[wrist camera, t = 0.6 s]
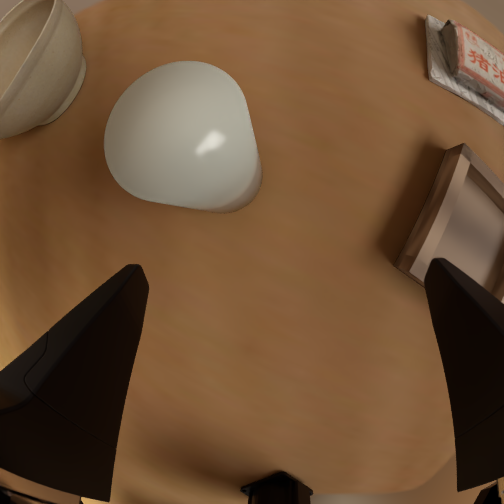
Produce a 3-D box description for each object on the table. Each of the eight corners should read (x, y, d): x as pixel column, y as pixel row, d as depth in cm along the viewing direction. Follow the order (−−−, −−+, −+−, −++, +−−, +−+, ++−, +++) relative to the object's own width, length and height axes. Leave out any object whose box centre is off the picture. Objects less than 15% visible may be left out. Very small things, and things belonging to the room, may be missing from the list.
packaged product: (545, 79, 13) (557, 146, 14) (525, 89, 17) (532, 152, 19) (437, -2, 14) (448, 61, 15) (421, 20, 18) (425, 82, 19)
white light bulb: (218, 229, 22) (156, 236, 10) (173, 173, 22) (83, 132, 10) (278, 179, 21) (282, 128, 9) (229, 125, 21) (187, 39, 9)
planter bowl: (35, 53, 22) (-13, 26, 11) (128, 18, 20) (83, -36, 10) (5, 162, 23) (-59, 152, 12) (93, 146, 22) (10, 115, 11)
